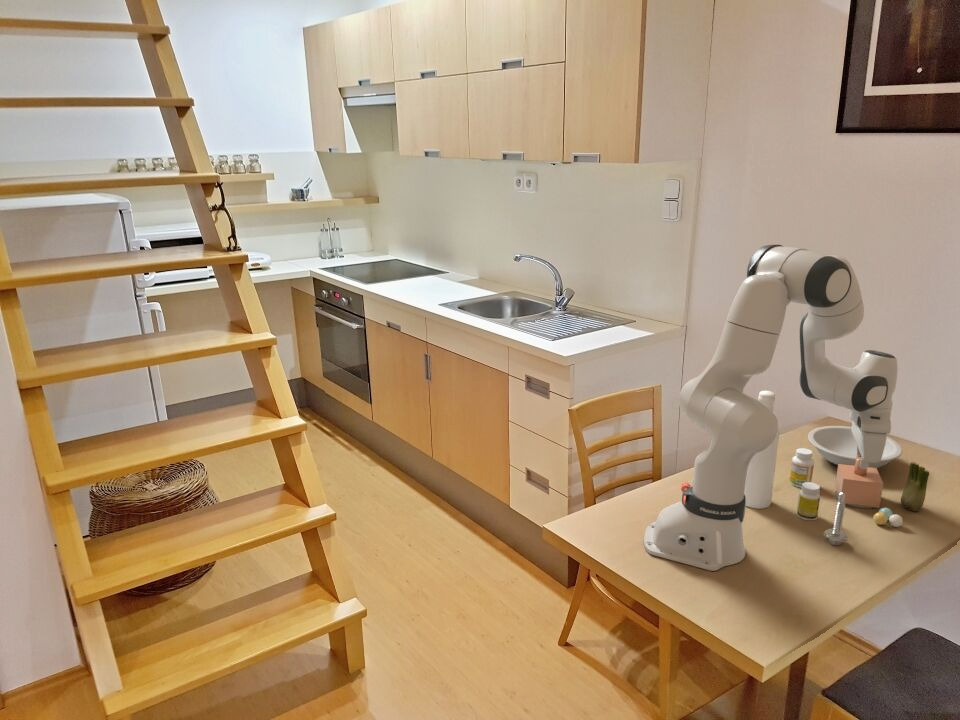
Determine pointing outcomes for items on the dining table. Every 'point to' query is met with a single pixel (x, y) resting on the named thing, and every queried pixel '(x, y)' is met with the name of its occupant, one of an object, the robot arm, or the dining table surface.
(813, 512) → the supplement bottle
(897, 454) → the soup bowl
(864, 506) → the gray glossy dome
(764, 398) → the bottle
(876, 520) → the marble amber
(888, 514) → the marble teal
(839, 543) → the screw
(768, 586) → the dining table surface
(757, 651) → the dining table surface
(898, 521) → the marble ivory
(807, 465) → the supplement bottle
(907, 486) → the fennel bulb
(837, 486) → the terracotta cover
